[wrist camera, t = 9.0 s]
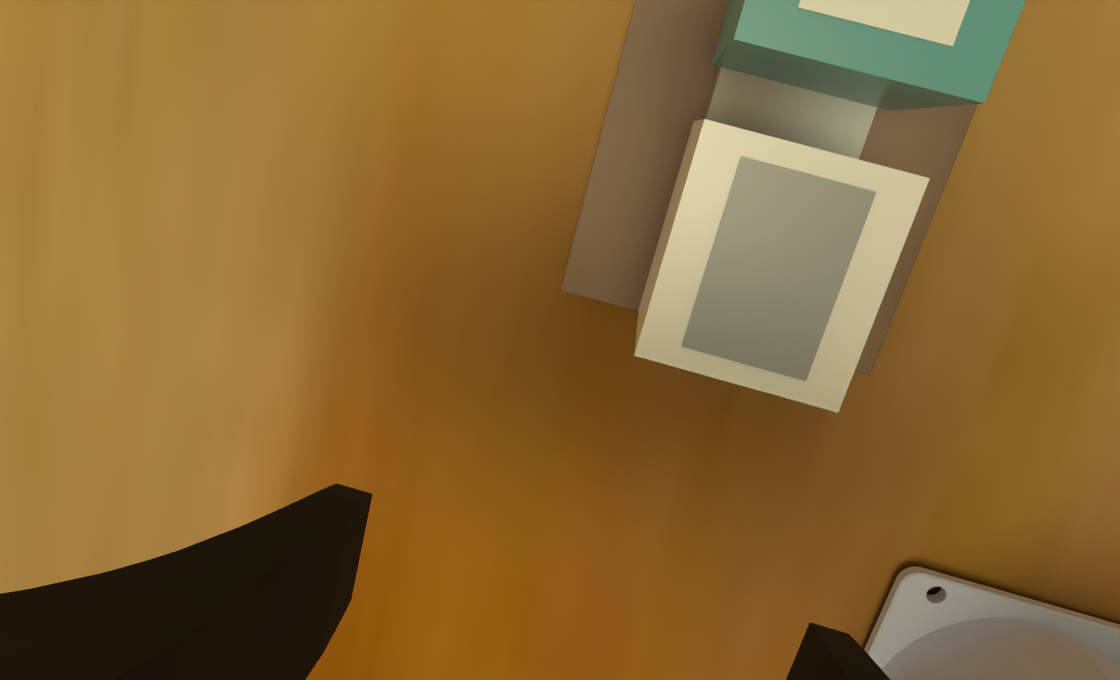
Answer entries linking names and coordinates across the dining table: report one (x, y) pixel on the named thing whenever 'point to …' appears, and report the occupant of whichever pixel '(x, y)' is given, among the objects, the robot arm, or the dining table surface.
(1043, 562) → the dining table surface
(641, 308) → the mounted module
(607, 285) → the mounting board
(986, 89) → the block
